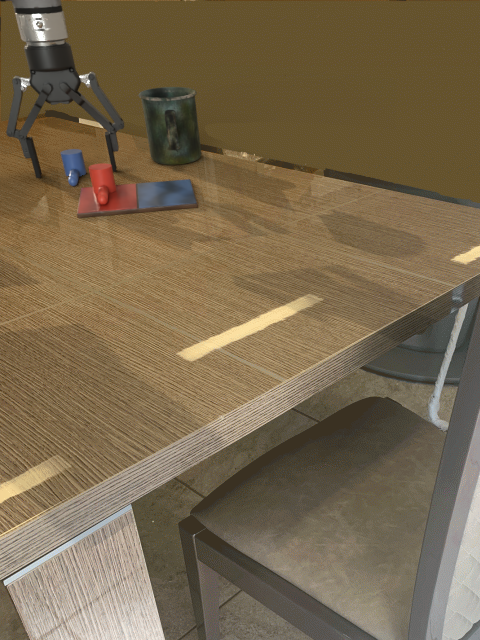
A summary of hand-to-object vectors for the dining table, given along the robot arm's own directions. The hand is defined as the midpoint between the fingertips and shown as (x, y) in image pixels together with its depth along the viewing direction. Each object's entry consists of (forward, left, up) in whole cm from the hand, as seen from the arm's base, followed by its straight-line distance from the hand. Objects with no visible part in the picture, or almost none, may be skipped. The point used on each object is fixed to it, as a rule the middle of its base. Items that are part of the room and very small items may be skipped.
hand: (77, 173), depth 121 cm
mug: (+19, +4, 0) cm, 19 cm away
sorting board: (+11, -18, 0) cm, 21 cm away
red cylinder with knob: (+5, -17, +1) cm, 18 cm away
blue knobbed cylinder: (0, -3, 0) cm, 3 cm away
